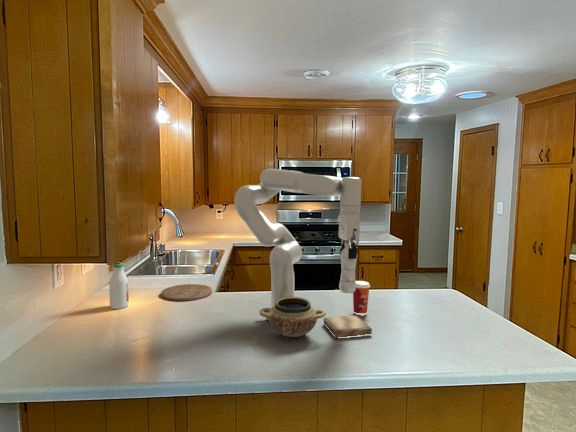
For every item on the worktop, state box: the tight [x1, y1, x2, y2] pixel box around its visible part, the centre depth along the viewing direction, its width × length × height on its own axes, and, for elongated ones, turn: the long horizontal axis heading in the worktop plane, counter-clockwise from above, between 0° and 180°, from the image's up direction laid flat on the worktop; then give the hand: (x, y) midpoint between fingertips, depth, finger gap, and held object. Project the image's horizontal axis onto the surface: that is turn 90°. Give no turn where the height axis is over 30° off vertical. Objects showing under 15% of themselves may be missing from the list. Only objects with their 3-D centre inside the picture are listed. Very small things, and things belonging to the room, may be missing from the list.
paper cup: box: [352, 280, 371, 313], centre depth 159 cm, size 8×8×14 cm
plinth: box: [323, 314, 373, 338], centre depth 141 cm, size 14×14×3 cm
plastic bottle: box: [338, 241, 358, 294], centre depth 139 cm, size 6×7×20 cm
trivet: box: [160, 283, 213, 302], centre depth 186 cm, size 25×25×2 cm
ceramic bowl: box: [259, 296, 327, 341], centre depth 135 cm, size 24×18×15 cm
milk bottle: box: [108, 262, 130, 310], centre depth 164 cm, size 8×8×20 cm
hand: (348, 256), depth 139 cm, fingers closed on plastic bottle, 6 cm apart
